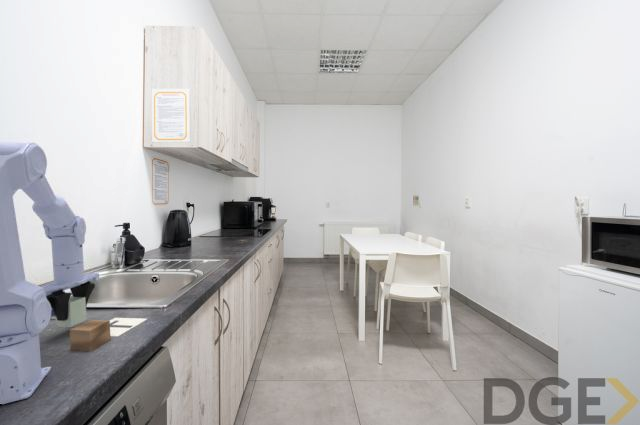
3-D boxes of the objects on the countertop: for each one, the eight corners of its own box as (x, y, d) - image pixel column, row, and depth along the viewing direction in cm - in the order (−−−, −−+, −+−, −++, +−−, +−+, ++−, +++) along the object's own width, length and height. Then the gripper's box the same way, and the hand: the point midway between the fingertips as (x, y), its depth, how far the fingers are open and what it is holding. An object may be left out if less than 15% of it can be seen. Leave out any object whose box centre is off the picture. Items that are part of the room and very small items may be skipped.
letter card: (117, 337, 67) (117, 336, 67) (81, 336, 69) (81, 334, 69) (147, 319, 77) (147, 318, 77) (115, 318, 78) (115, 317, 78)
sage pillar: (71, 326, 68) (69, 302, 68) (57, 326, 69) (55, 302, 69) (86, 319, 72) (85, 297, 72) (73, 319, 73) (71, 296, 73)
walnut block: (90, 352, 61) (89, 330, 61) (71, 351, 62) (69, 329, 61) (110, 341, 66) (109, 320, 66) (92, 340, 67) (90, 319, 66)
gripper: (51, 270, 62) (55, 329, 63) (108, 257, 77) (110, 305, 77) (24, 270, 63) (28, 328, 64) (85, 257, 78) (87, 305, 78)
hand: (71, 316), depth 71 cm, fingers closed on sage pillar, 4 cm apart
